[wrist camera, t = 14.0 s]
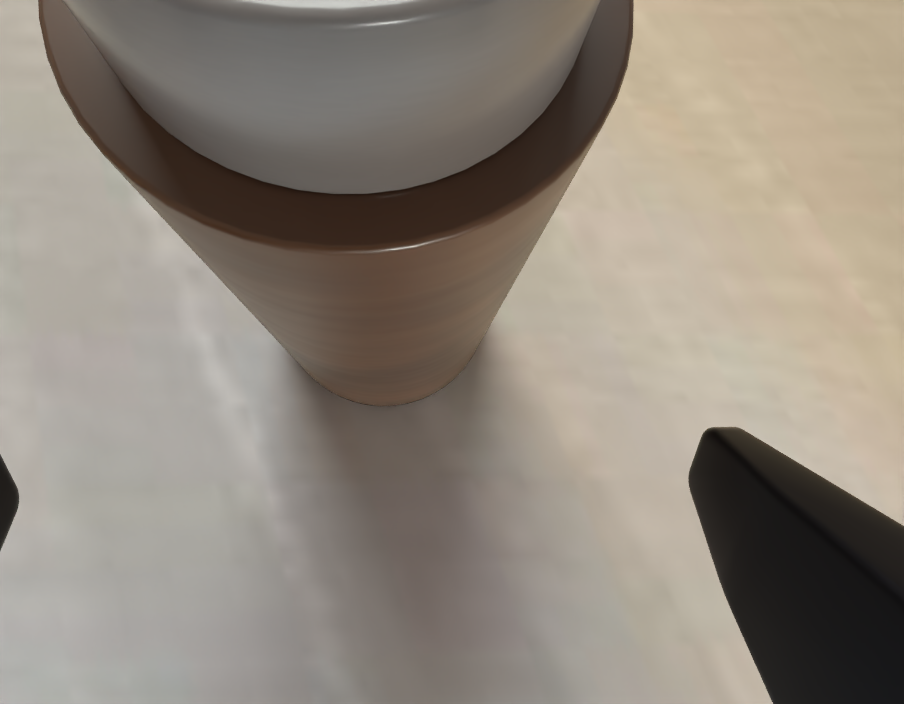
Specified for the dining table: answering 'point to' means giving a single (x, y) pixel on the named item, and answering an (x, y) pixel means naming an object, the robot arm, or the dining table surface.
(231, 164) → the pepper mill
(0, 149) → the dining table surface
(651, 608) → the dining table surface
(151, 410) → the dining table surface
